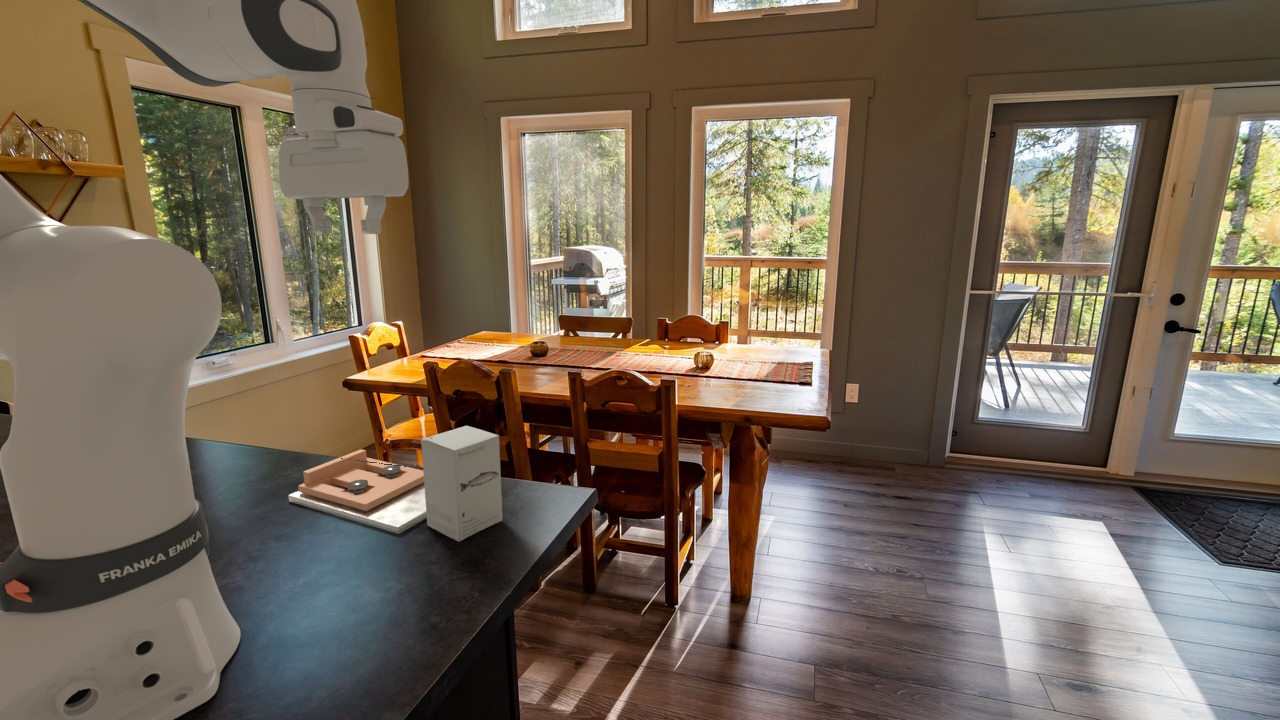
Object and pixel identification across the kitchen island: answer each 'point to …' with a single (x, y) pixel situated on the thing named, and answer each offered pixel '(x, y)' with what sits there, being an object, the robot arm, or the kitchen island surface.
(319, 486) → the panel
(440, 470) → the supplement box
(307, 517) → the kitchen island surface
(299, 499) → the boss plate
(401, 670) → the kitchen island surface
